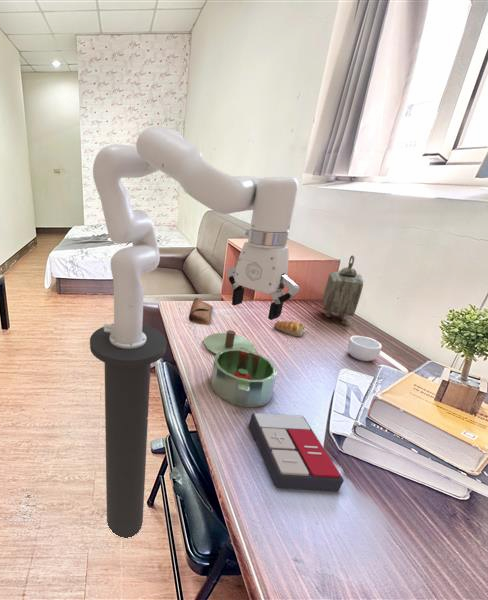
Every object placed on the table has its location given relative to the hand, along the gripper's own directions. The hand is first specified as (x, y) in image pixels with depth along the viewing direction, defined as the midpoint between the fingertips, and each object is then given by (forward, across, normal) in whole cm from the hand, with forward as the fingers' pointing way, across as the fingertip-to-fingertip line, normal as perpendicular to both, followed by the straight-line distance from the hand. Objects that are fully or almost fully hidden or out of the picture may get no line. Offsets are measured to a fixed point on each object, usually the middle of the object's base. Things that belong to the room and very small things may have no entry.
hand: (254, 310), depth 73 cm
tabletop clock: (+22, -9, +68) cm, 72 cm away
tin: (+22, 0, 0) cm, 22 cm away
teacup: (+22, +9, +45) cm, 51 cm away
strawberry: (+22, 0, 0) cm, 22 cm away
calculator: (+22, +19, -10) cm, 31 cm away
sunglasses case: (+22, -39, +27) cm, 52 cm away
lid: (+22, -16, +15) cm, 30 cm away
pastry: (+22, -11, +43) cm, 49 cm away
